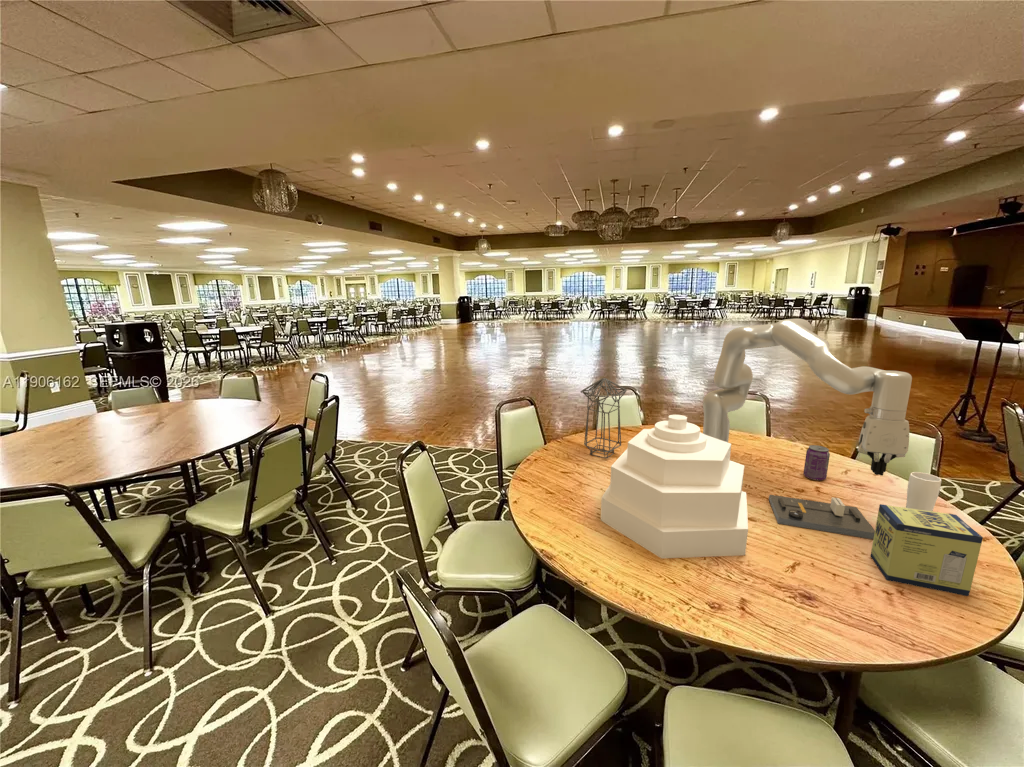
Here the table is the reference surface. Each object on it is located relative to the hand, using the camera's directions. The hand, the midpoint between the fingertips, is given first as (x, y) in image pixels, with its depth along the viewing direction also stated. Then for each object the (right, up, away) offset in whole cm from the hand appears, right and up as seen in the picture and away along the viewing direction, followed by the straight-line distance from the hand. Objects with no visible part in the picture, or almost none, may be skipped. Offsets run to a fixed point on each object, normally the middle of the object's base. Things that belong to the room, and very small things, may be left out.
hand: (877, 473), depth 122 cm
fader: (-7, -13, +6) cm, 16 cm away
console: (-12, -16, +7) cm, 21 cm away
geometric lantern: (-68, -5, +61) cm, 92 cm away
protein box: (-7, -21, -19) cm, 30 cm away
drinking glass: (+16, -16, +4) cm, 23 cm away
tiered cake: (-57, -16, +9) cm, 60 cm away
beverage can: (+7, -10, +35) cm, 37 cm away
